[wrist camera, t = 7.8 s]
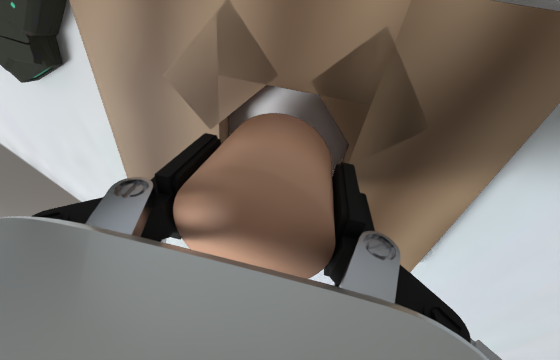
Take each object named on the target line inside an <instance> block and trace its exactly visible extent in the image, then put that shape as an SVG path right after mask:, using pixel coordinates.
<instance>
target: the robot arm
mask: <svg viewBox="0 0 560 360" xmlns="http://www.w3.org/2000/svg"><path fill="white" fill-rule="evenodd" d="M220 145H221V140H220V139H218V137H217V135H213V134H208V133H204V134H203V135H202V136H201V137H199V138H198V139H197V140H196V141H194V142H193V143H192V144H191V145H190V146H188V147H187V148H186V149H185V150H183V151H182V152H181V153H180V154H179V155H177V156H176V157H175V158H174V159H172V160H171V161H170V162H169V163H167V164H166V165H165V166H164V167H163V168H161V169H160V170H159V171H158V172H156V173H155V174H154V175H155V177H153V178H152V179H151V180H149V179H147V178H143V177H132V178H127V179H124V180H121V181H119V182H117V183H115V184H114V185H113V186H112V187H111V188H110V189H109V190H108V192H107V193H106V195H105V196H104V197H103V198H98V199H94V200H89V201H85V202H80V203H76V204H71V205H67V206H63V207H58V208H54V209H50V210H46V211H42V212H40V213H37V214H35V215H33V216H31V217H22V216H14V217H0V360H502V359H501V358H499V357H498V356H497V355H496V354H495V353H494V352H492V351H491V350H490V349H489V348H488V347H487V346H485V345H484V344H483V343H482V342H481V341H480V340H477V341H473V340H472V339H471V338H470V334H469V331H468V329H467V327H466V325H465V324H464V322H463V321H462V320H461V318H460V317H459V316H458V315H457V314H456V313H455V312H454V311H453V310H452V309H451V308H450V307H449V306H448V305H447V304H445V303H444V302H443V301H442V300H441V299H440V298H438V297H437V296H436V295H435V294H434V293H433V292H432V291H430V290H429V289H428V288H427V287H426V286H425V285H423V284H422V283H421V282H420V281H419V280H418V279H417V278H415V277H414V276H413V275H412V274H411V273H410V272H408V271H407V270H406V269H405V268H404V267H403V266H401V265H400V259H401V255H400V250H399V248H398V246H397V245H396V244H395V243H394V241H392V240H391V239H390V238H389V237H387V236H386V235H384V234H382V233H379V232H376V231H375V229H374V225H373V221H372V217H371V213H370V209H369V205H368V201H367V196H366V194H364V193H360V191H359V186H358V181H357V176H356V172H355V167H354V165H353V164H348V163H343V162H342V163H341V165H339V164H337V166H336V168H335V171H334V174H333V177H332V178H333V202H334V225H335V248H334V252H333V255H332V258H331V259H330V261H329V263H328V264H327V265H326V266H325V268H324V275H326V276H330V278H331V279H332V280H333V281H334V285H329V284H325V283H321V282H317V281H314V280H310V279H306V278H302V277H298V276H294V275H290V274H286V273H282V272H278V271H274V270H271V269H267V268H263V267H259V266H255V265H251V264H247V263H243V262H239V261H235V260H231V259H227V258H223V257H219V256H215V255H211V254H207V253H203V252H199V251H195V250H191V249H187V248H183V247H179V246H175V245H171V244H167V243H166V238H169V237H172V238H176V239H181V238H182V237H181V236H180V234H179V232H178V230H177V228H176V225H175V221H174V216H173V204H174V200H175V197H176V195H177V193H178V191H179V190H180V188H181V187H182V186H183V185H184V183H185V182H186V181H187V180H188V179H189V178H190V177H191V176H192V175H193V174H194V173H195V172H196V171H197V170H198V169H199V168H200V166H201V165H202V164H203V163H204V162H205V161H206V160H207V159H208V158H209V157H210V156H211V155H212V154H213V153H214V152H215V151H216V150H217V149H218V147H219V146H220Z"/></svg>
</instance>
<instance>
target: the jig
mask: <svg viewBox="0 0 560 360" xmlns="http://www.w3.org/2000/svg"><path fill="white" fill-rule="evenodd" d="M69 1H70V4H71V7H72V10H73V14H74V17H75V20H76V23H77V26H78V29H79V32H80V35H81V38H82V41H83V44H84V47H85V50H86V53H87V56H88V59H89V62H90V65H91V68H92V71H93V74H94V78H95V81H96V84H97V87H98V90H99V93H100V96H101V99H102V102H103V105H104V108H105V111H106V114H107V117H108V120H109V123H110V126H111V129H112V132H113V135H114V138H115V142H116V145H117V148H118V151H119V154H120V157H121V160H122V163H123V166H124V169H125V172H126V175H127V178H132V177H143V178H147V179H149V180H151V179H152V178H153V177H155V175H154V174H155V173H156V172H158V171H159V170H160V169H161V168H163V167H164V166H165V165H166V164H167V163H169V162H170V161H171V160H172V159H174V158H175V157H176V156H177V155H179V154H180V153H181V152H182V151H183V150H185V149H186V148H187V147H188V146H190V145H191V144H192V143H193V142H194V141H196V140H197V139H198V138H199V137H201V136H202V135H203V134H204V133H208V134H213V135H217V137H218V139H220V140H221V144H222V143H223V142H224V141H225V140H226V139H227V138H228V137H229V115H230V114H231V113H232V112H234V111H235V110H236V109H237V108H239V107H240V106H241V105H242V104H243V103H245V102H246V101H247V100H248V99H250V98H251V97H252V96H253V95H255V94H256V93H257V92H258V91H260V90H261V89H262V88H263V87H265V86H266V85H271V86H276V87H281V88H286V89H291V90H296V91H301V92H306V93H311V94H317V95H319V96H320V98H321V99H322V101H323V103H324V104H325V106H326V108H327V109H328V111H329V113H330V114H331V116H332V118H333V119H334V121H335V122H336V124H337V126H338V127H339V129H340V131H341V132H342V134H343V136H344V137H345V139H346V141H347V142H348V144H349V146H348V149H347V152H346V154H345V157H344V160H343V163H348V164H353V165H354V167H355V172H356V176H357V181H358V186H359V191H360V193H364V194H366V196H367V201H368V205H369V209H370V213H371V217H372V221H373V225H374V229H375V231H376V232H379V233H382V234H384V235H386V236H387V237H389V238H390V239H391V240H392V241H394V243H395V244H396V245H397V246H398V248H399V250H400V255H401V259H400V265H401V266H403V267H404V268H405V269H406V270H407V271H408V272H411V271H412V270H413V268H414V267H415V266H416V265H417V264H418V263H419V262H420V260H421V259H422V258H423V257H424V256H425V255H426V254H427V253H428V251H429V250H430V249H431V248H432V247H433V246H434V245H435V244H436V242H437V241H438V240H439V239H440V238H441V237H442V236H443V234H444V233H445V232H446V231H447V230H448V229H449V228H450V227H451V225H452V224H453V223H454V222H455V221H456V220H457V219H458V217H459V216H460V215H461V214H462V213H463V212H464V211H465V210H466V208H467V207H468V206H469V205H470V204H471V203H472V202H473V200H474V199H475V198H476V197H477V196H478V195H479V194H480V193H481V191H482V190H483V189H484V188H485V187H486V186H487V185H488V183H489V182H490V181H491V180H492V179H493V178H494V177H495V176H496V174H497V173H498V172H499V171H500V170H501V169H502V168H503V166H504V165H505V164H506V163H507V162H508V161H509V160H510V159H511V157H512V156H513V155H514V154H515V153H516V152H517V151H518V150H519V148H520V147H521V146H522V145H523V144H524V143H525V142H526V140H527V139H528V138H529V137H530V136H531V135H532V134H533V133H534V131H535V130H536V129H537V128H538V127H539V126H540V125H541V123H542V122H543V121H544V120H545V119H546V118H547V117H548V116H549V114H550V113H551V112H552V111H553V110H554V109H555V108H556V106H557V105H558V104H559V103H560V11H554V10H548V9H541V8H535V7H529V6H523V5H516V4H510V3H504V2H498V1H491V0H69Z"/></svg>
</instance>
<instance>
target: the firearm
mask: <svg viewBox="0 0 560 360" xmlns="http://www.w3.org/2000/svg"><path fill="white" fill-rule="evenodd" d="M66 1H67V0H0V65H1V66H2V67H3V68H4V69H6V70H7V71H9V72H10V73H11V74H12V75H14V76H15V77H16V78H17V79H18V80H19V81H20V82H21V83H23V82H30V81H36V80H39V79H41V78H42V77H44V76H46V75H47V74H49V73H51V72H52V71H54V70H55V69H57V68H58V67H60V66H61V60H60V54H59V49H58V45H57V40H56V36H55V35H57V34H58V32H59V29H60V25H61V21H62V17H63V13H64V9H65V5H66ZM7 20H8V21H9V22H8V21H7ZM14 26H15V27H14Z"/></svg>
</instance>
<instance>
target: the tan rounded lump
mask: <svg viewBox="0 0 560 360" xmlns="http://www.w3.org/2000/svg"><path fill="white" fill-rule="evenodd" d="M173 216H174V221H175V225H176V228H177V230H178V232H179V234H180V236H181V237H182V239H183V240H184V242H185V243H186V244H187V246H188V247H189V248H190V249H191V250H195V251H199V252H203V253H207V254H211V255H215V256H219V257H223V258H227V259H231V260H235V261H239V262H243V263H247V264H251V265H255V266H259V267H263V268H267V269H271V270H274V271H278V272H282V273H286V274H290V275H294V276H298V277H302V278H306V279H308V278H311V277H312V276H314V275H316V274H318V273H319V272H320V271H321V270H323V269H324V268H325V266H326V265H327V264H328V263H329V261H330V259H331V258H332V255H333V252H334V248H335V225H334V202H333V178H332V159H331V154H330V151H329V149H328V146H327V144H326V142H325V141H324V139H323V138H322V137H321V135H320V134H319V133H318V132H317V131H316V130H315V129H314V128H313V127H311V126H310V125H309V124H307V123H306V122H304V121H302V120H300V119H298V118H296V117H293V116H289V115H286V114H278V113H269V114H262V115H258V116H255V117H252V118H250V119H248V120H246V121H245V122H243V123H242V124H241V125H240V126H239V127H237V128H236V130H235V131H234V132H233V133H232V134H231V135H230V136H229V137H228V138H227V139H226V140H225V141H224V142H223V143H222V144H221V145H220V146H219V147H218V149H217V150H216V151H215V152H214V153H213V154H212V155H211V156H210V157H209V158H208V159H207V160H206V161H205V162H204V163H203V164H202V165H201V166H200V168H199V169H198V170H197V171H196V172H195V173H194V174H193V175H192V176H191V177H190V178H189V179H188V180H187V181H186V182H185V183H184V185H183V186H182V187H181V188H180V190H179V191H178V193H177V195H176V197H175V200H174V204H173Z"/></svg>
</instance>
